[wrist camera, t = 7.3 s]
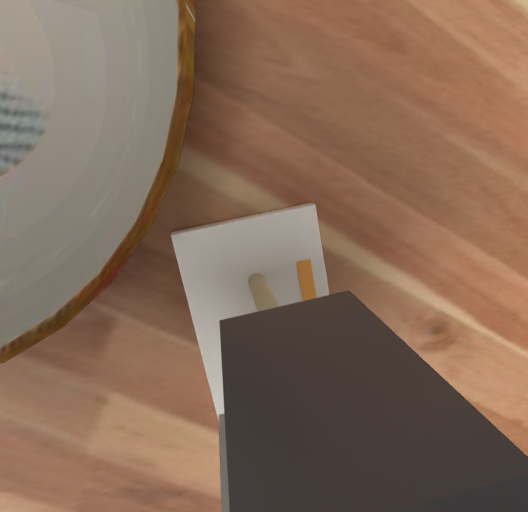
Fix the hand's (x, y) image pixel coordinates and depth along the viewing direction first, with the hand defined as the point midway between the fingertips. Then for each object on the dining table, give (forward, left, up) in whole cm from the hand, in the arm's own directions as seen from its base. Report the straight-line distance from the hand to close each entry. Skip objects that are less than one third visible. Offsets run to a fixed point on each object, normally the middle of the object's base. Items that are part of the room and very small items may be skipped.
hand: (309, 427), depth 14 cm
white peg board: (0, 0, -10) cm, 10 cm away
